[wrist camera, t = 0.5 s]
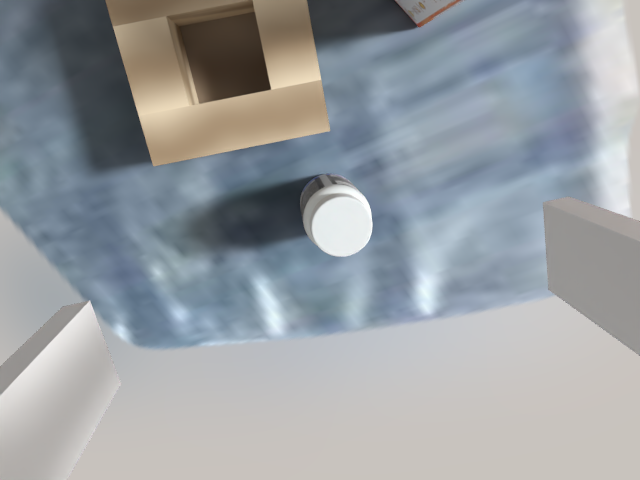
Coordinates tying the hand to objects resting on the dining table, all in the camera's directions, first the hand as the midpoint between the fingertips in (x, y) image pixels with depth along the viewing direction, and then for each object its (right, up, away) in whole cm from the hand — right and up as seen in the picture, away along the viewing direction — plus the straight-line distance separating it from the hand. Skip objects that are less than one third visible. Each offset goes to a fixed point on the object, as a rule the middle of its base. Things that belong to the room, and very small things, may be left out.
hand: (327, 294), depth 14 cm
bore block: (-7, +15, +21) cm, 27 cm away
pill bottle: (+1, +5, +25) cm, 25 cm away
